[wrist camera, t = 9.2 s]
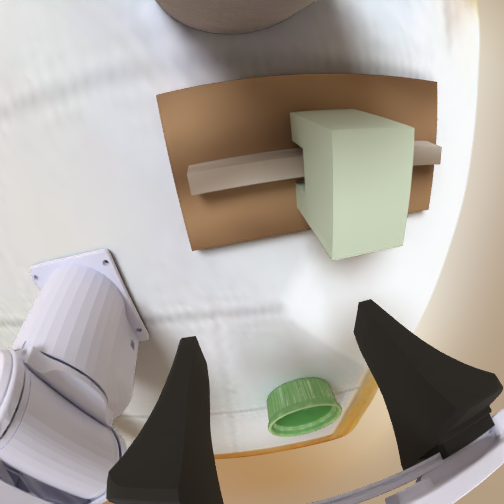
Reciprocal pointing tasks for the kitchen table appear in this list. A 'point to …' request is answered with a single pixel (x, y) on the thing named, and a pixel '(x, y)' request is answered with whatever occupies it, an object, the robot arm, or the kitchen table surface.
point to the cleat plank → (275, 146)
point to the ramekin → (301, 407)
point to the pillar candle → (232, 13)
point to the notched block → (354, 179)
